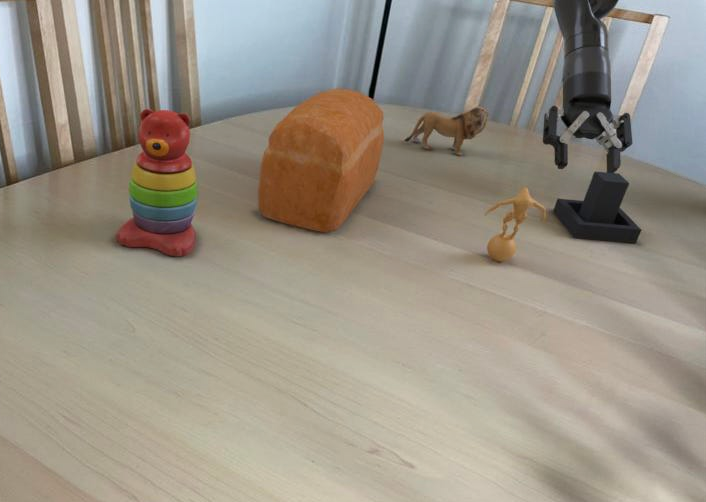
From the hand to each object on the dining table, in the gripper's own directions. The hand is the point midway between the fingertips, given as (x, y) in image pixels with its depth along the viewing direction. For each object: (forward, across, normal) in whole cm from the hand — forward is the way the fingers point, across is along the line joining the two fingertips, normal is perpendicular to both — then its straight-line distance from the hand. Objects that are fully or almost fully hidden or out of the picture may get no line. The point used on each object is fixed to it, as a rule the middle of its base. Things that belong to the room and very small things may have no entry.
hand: (587, 169), depth 125 cm
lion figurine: (-12, -18, +22) cm, 30 cm away
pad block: (+10, 0, -2) cm, 10 cm away
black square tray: (+11, 0, -1) cm, 11 cm away
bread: (+9, -45, 0) cm, 46 cm away
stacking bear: (+23, -69, -13) cm, 74 cm away
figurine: (+22, -20, -12) cm, 32 cm away
